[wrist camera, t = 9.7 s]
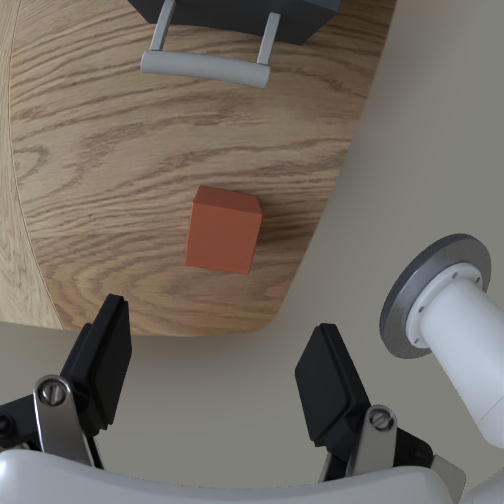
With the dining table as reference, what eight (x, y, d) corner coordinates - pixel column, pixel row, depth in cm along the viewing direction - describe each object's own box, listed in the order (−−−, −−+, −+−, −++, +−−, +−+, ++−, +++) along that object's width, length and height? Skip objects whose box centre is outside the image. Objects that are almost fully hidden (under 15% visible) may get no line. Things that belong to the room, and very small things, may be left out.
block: (256, 195, 22) (263, 214, 18) (244, 247, 24) (248, 275, 20) (199, 185, 21) (192, 202, 17) (191, 238, 23) (183, 265, 19)
